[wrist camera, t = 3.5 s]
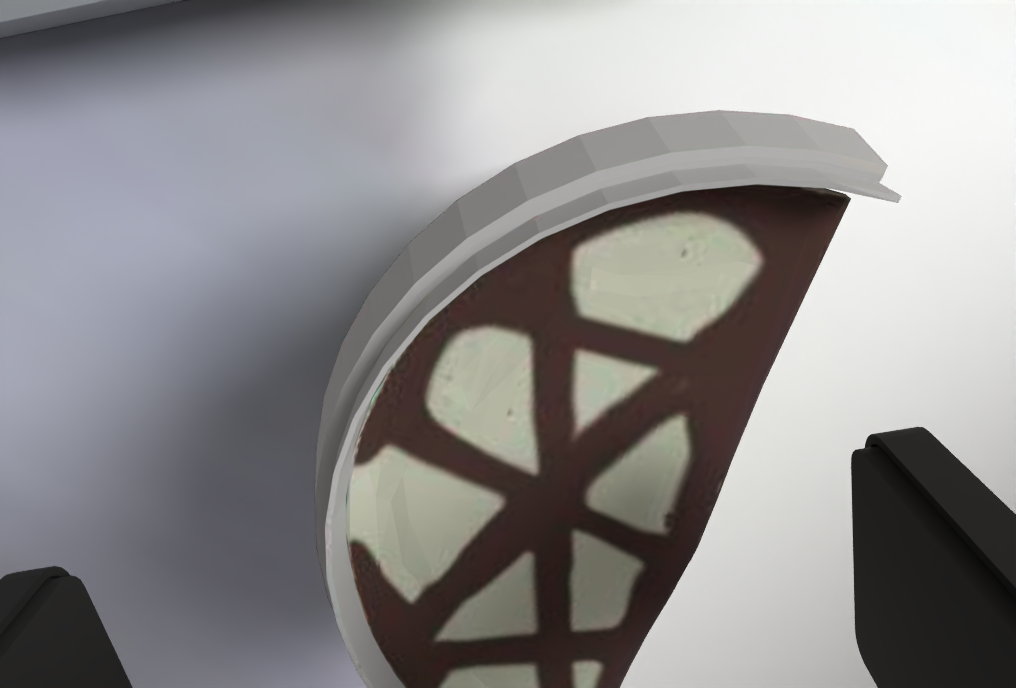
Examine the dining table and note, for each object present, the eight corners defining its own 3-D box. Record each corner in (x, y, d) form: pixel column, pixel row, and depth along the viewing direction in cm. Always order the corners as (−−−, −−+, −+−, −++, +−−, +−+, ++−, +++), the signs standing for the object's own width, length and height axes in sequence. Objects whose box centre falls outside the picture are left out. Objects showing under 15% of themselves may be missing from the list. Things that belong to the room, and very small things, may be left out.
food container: (461, 0, 18) (402, -21, 8) (717, 85, 18) (924, 152, 9) (341, 460, 22) (217, 776, 13) (551, 516, 23) (576, 854, 14)
